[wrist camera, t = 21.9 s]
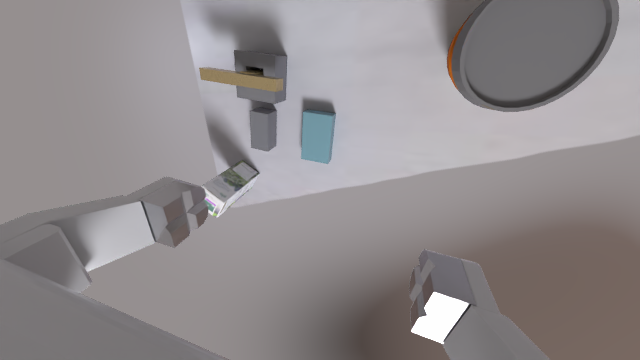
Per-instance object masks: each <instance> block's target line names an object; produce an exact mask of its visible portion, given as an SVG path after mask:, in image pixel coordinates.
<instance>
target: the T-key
mask: <svg viewBox="0 0 640 360" xmlns="http://www.w3.org/2000/svg"><path fill="white" fill-rule="evenodd" d="M199 69H200V76H201V80H207V81H213V82H219V83H225V84H231V85H237V86H243V87H249V88H255V89H261V90H267V91H274V92H278V91H282V90H283V78H276V77H270V76H264V71H263V70H253V71H240V72H237V71H230V70H223V69H217V68H210V67H208V68H199Z"/></svg>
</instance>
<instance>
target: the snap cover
mask: <svg viewBox="0 0 640 360" xmlns="http://www.w3.org/2000/svg"><path fill="white" fill-rule="evenodd" d="M335 116H336V113H329V112H322V111H315V110H308V109H307V110H306V111H304V112H303V126H302V154H301V159H305V160H310V161H315V162H321V163H326V164H328V163H329V162H330V160H331V155H332V145H333V136H334V126H335Z"/></svg>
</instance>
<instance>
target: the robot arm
mask: <svg viewBox="0 0 640 360" xmlns="http://www.w3.org/2000/svg"><path fill="white" fill-rule="evenodd" d="M205 197H206V193H205V189H204V188H202V187H201V186H198V185H194V184H191V183H188V182H185V181H181V180H177V179H174V178H170V177H164V178H162V179H160V180H158V181H156V182H154V183H152V184H150V185H148V186H146V187H144V188H142V189H140V190H138V191H136V192H133V193H131V194H129V195H127V196H117V197H111V198H106V199H101V200H96V201H91V202H86V203H80V204H76V205H70V206H65V207H60V208H55V209H50V210H45V211H40V212H34V213H29V214H26V215H23V216H21V217H19V218H17V219H14V220H11V221H9V222H7V223H4V224H2V225H0V360H229V359H227V358H225V357H222V356H220V355H218V354H216V353H213V352H211V351H209V350H207V349H204V348H202V347H200V346H198V345H195V344H193V343H191V342H188V341H186V340H184V339H182V338H180V337H177V336H175V335H173V334H171V333H168V332H166V331H163V330H161V329H159V328H157V327H155V326H153V325H150V324H148V323H146V322H144V321H141V320H139V319H137V318H134V317H132V316H130V315H128V314H126V313H123V312H121V311H118V310H116V309H114V308H112V307H109V306H107V305H105V304H103V303H101V302H98V301H96V300H94V299H92V298H89V297H87V296H85V295H83V294H80V292H82V291H83V290H84V289H86V288H87V287H89V286H90V285H91V282H92V280H91V278H90V276H89V274H88V273H87V272H88V271H90V270H93V269H95V268H97V267H100V266H102V265H104V264H106V263H109V262H111V261H114V260H116V259H118V258H121V257H123V256H125V255H128V254H130V253H132V252H135V251H137V250H139V249H142V248H144V247H147V246H149V245H151V244H154V243H155V242H158V243H161V244H164V245H167V246H170V247H173V248H175V247H176V246H178V245H179V244H180V243H181V242H182V241H183V240H185V239H186V238H187V237H188V236H189V234H190V231H191V230H194V229H197V228H199V227H200V226H201V225H202V224H203V223H204V222H205V220H206V218H207V217H208V205H207V204H206V203H205V201H204V199H205ZM419 264H420V265H418V266H416V267H414V269H413V271H412V274H411V278H410V283H409V296H410V298H411V299H412V301H413V302H414V303H413V305H412V307H411V309H410V315H411V329H412V332H415V333H418V334H420V335H423V336H425V337H428V338H431V339H433V340H436V341H439V342H441V343H443V344H442V345H443V347H444V349H445V351H446V352H447V354H448V356H449V358H450V359H451V360H550V359H549V358H548V357H547V356H546V355H545V354H544V353H543V352H542V351H541V350H540V349H539V348H538V347H537V346H536V345H535V344H534V343H533V342H532V341H531V340H530V339H529V338H528V337H527V336H526V335H525V334H524V333H523V332H522V331H521V330H520V329H519V328H518V327H517V326H516V325H515V324H514V323H513V322H512V321H511V320H510V319H509V318H508V317H507V316H504V315H501V314H500V312H499V309H498V307H497V305H496V302H495V300H494V297H493V295H492V293H491V290H490V288H489V286H488V283H487V281H486V279H485V276H484V274H483V272H482V269H481V267H480V265H478V263H476V262H471V261H468V260H464V259H460V258H455V257H451V256H448V255H444V254H440V253H437V252H433V251H429V250H426V249H424V250H423V251H422V252H421V254H420V256H419Z"/></svg>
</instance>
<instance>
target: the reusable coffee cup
mask: <svg viewBox="0 0 640 360" xmlns="http://www.w3.org/2000/svg"><path fill="white" fill-rule="evenodd" d="M618 21H619V5H618V1H617V0H485V1H484V2H483V3H482V4H481V5H480V6H479V7H478V8H477V9H476V10H475V11H474V12H473V13H472V14H471V15H470V16H469V17H468V19H467V20H466V21H465V22H464V24H463V25H462V26H461V28H460V29H459V30H458V32H457V33H456V35H455V37H454V39H453V40H452V43H451V45H450V48H449V51H448V57H447V68H448V73H449V76H450V78H451V80H452V82H453V84H454V85H455V87H456V88H457V89H458V91H459V92H460V93H461V94H462V95H463V96H464V98H466V99H467V100H468V101H470V102H471V103H473V104H475V105H477V106H480V107H482V108H487V109H492V110H497V111H503V112H518V111H525V110H531V109H534V108H537V107H540V106H543V105H546V104H548V103H550V102H553V101H555V100H557V99H559V98H561V97H562V96H564V95H565V94H567V93H568V92H570V91H572V90H573V89H574V88H576V87H577V86H578V85H579V84H580V83H582V82H583V81H584V80H585V79H586V78H587V77H588V76H589V75H590V74H591V73H592V72H593V71H594V70H595V69H596V67H597V66H598V65H599V64H600V62H601V61H602V59H603V58H604V56H605V55H606V53H607V52H608V50H609V48H610V46H611V44H612V41H613V39H614V37H615V34H616V30H617V26H618Z"/></svg>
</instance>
